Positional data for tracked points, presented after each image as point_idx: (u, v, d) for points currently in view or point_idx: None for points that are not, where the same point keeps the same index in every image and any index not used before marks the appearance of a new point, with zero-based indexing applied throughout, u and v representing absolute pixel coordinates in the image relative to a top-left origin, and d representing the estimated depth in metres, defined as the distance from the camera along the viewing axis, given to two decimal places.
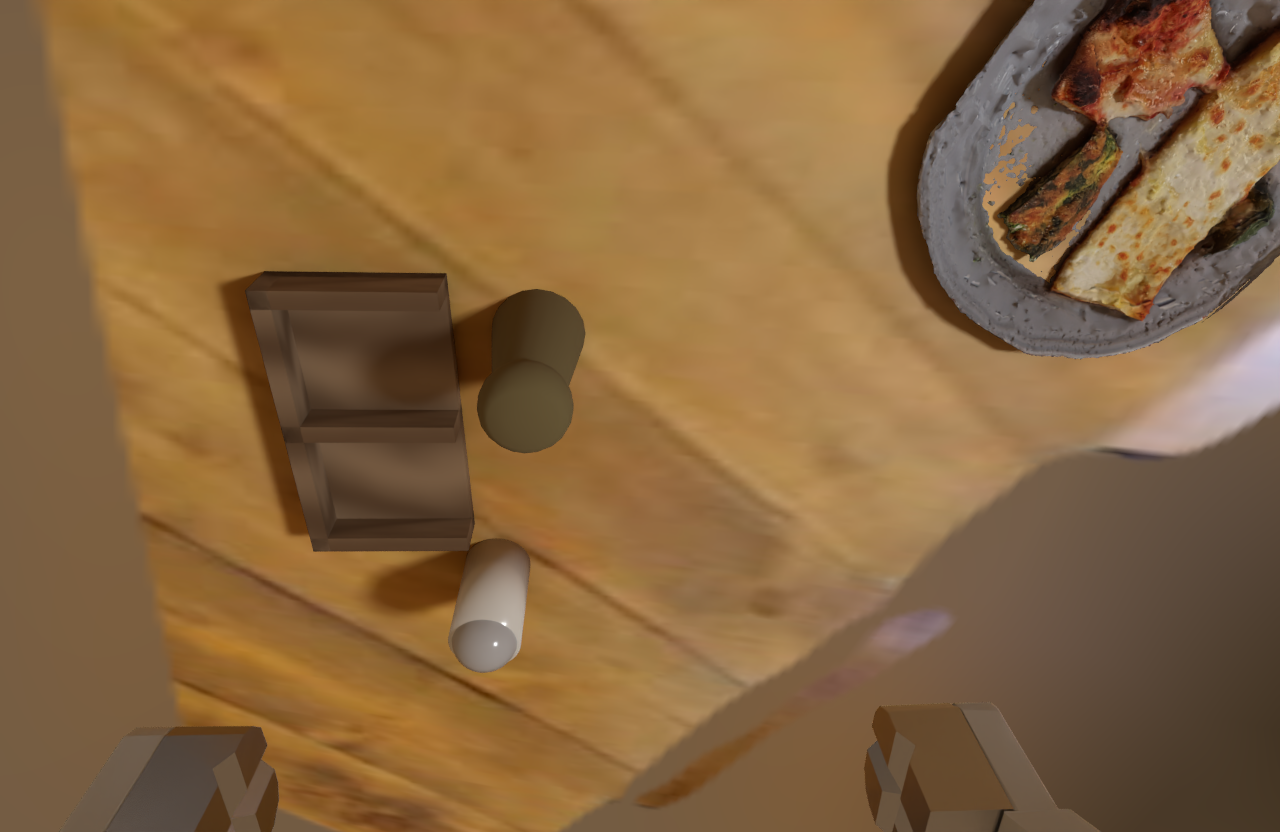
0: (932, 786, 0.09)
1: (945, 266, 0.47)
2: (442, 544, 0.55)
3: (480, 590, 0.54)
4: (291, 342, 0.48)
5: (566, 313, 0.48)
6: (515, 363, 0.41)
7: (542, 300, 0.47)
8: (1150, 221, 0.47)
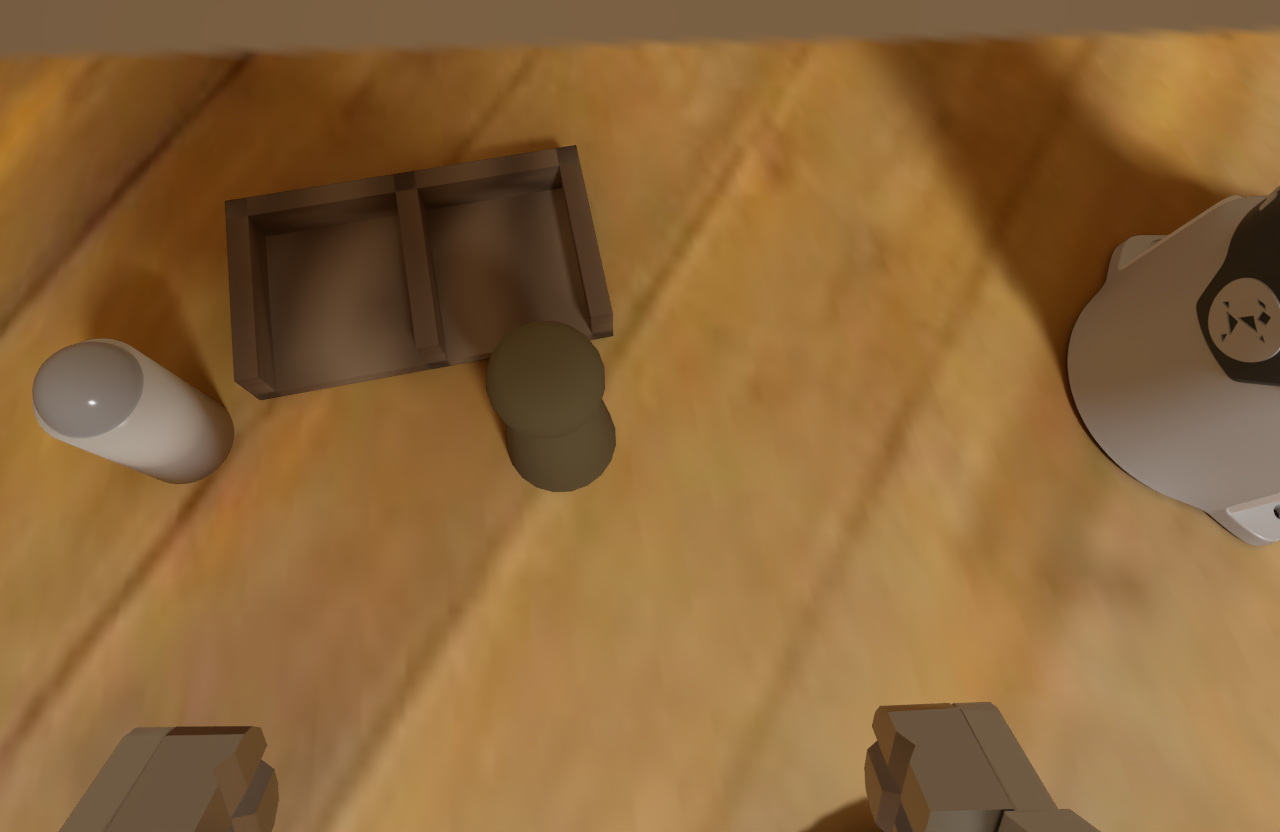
0: (932, 786, 0.09)
1: None
2: (244, 347, 0.40)
3: (178, 389, 0.37)
4: (512, 190, 0.46)
5: (603, 457, 0.41)
6: None
7: (612, 430, 0.41)
8: None
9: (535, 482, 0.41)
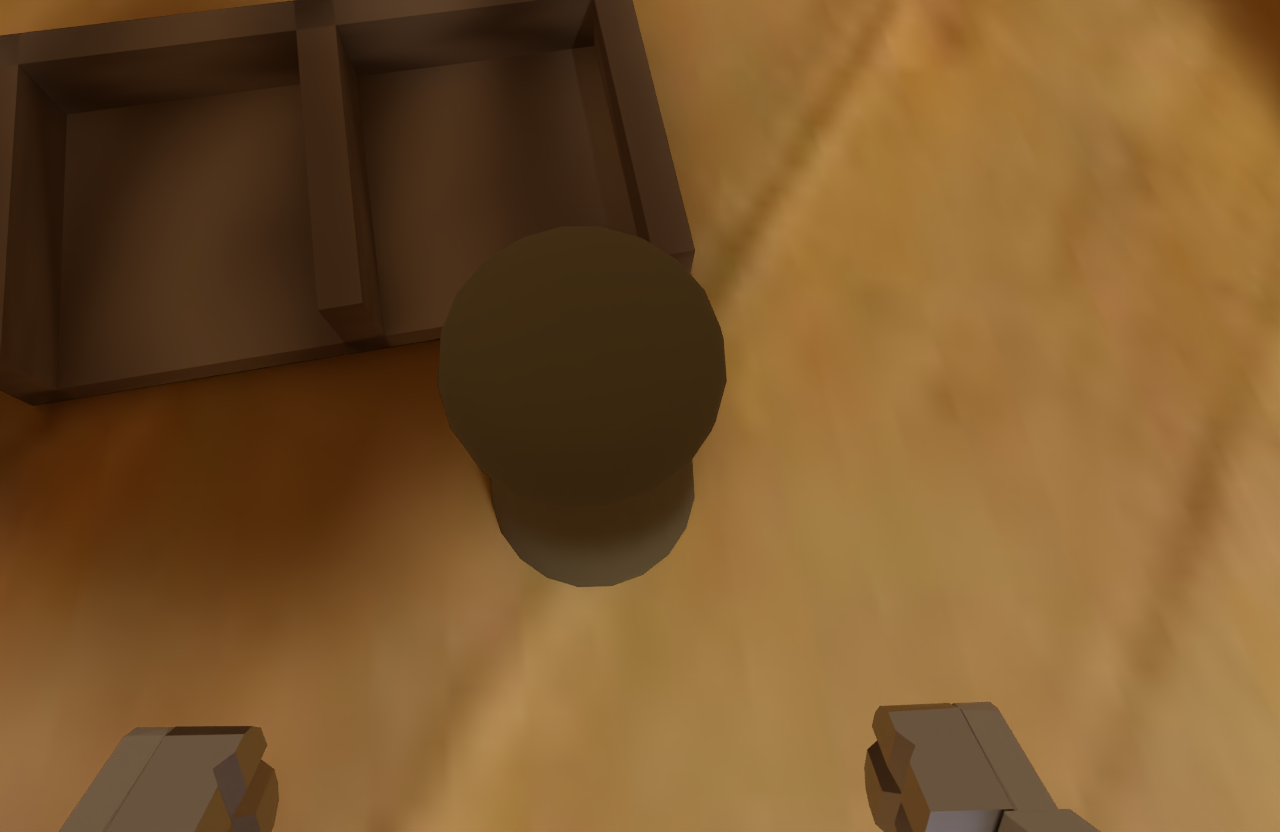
0: (932, 786, 0.09)
1: None
2: None
3: None
4: (508, 44, 0.26)
5: (678, 525, 0.21)
6: None
7: (692, 471, 0.22)
8: None
9: (545, 570, 0.21)
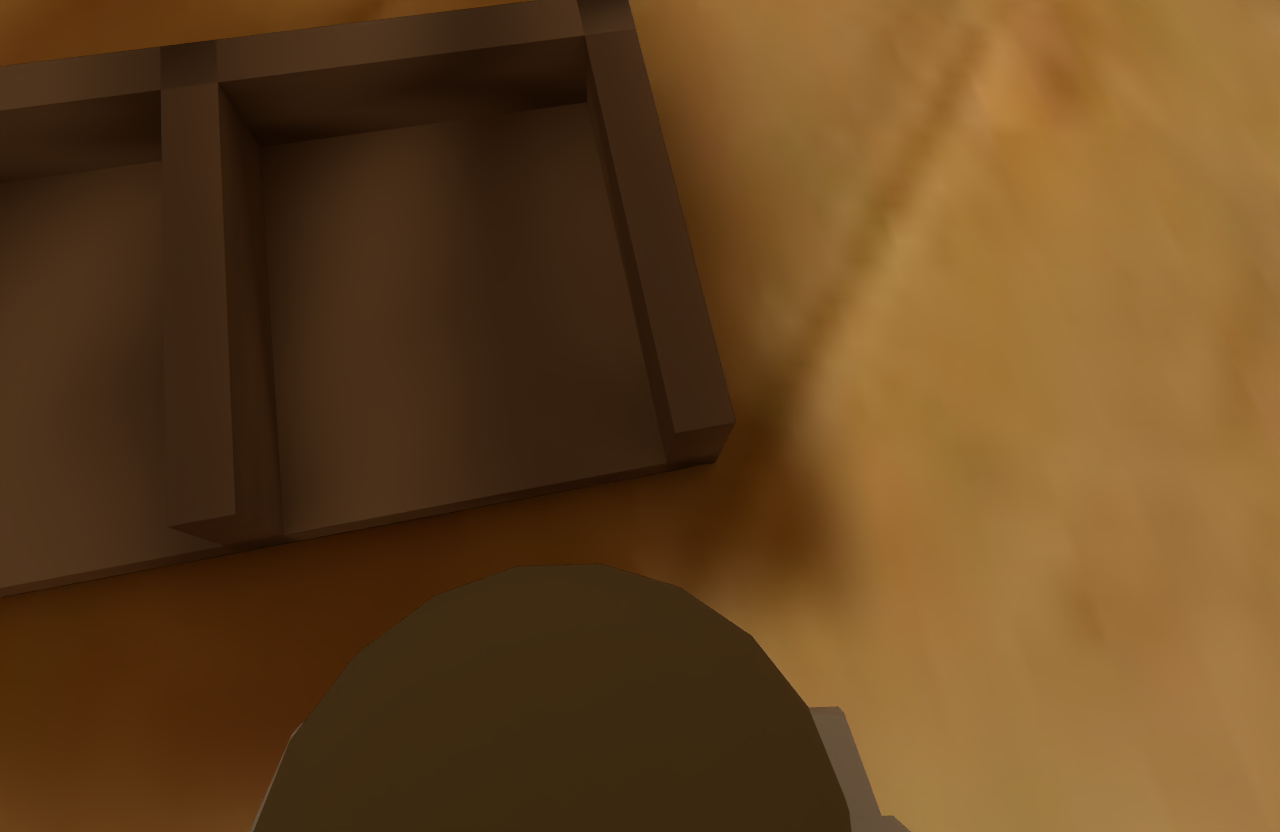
0: None
1: None
2: None
3: None
4: (468, 102, 0.19)
5: None
6: None
7: None
8: None
9: None
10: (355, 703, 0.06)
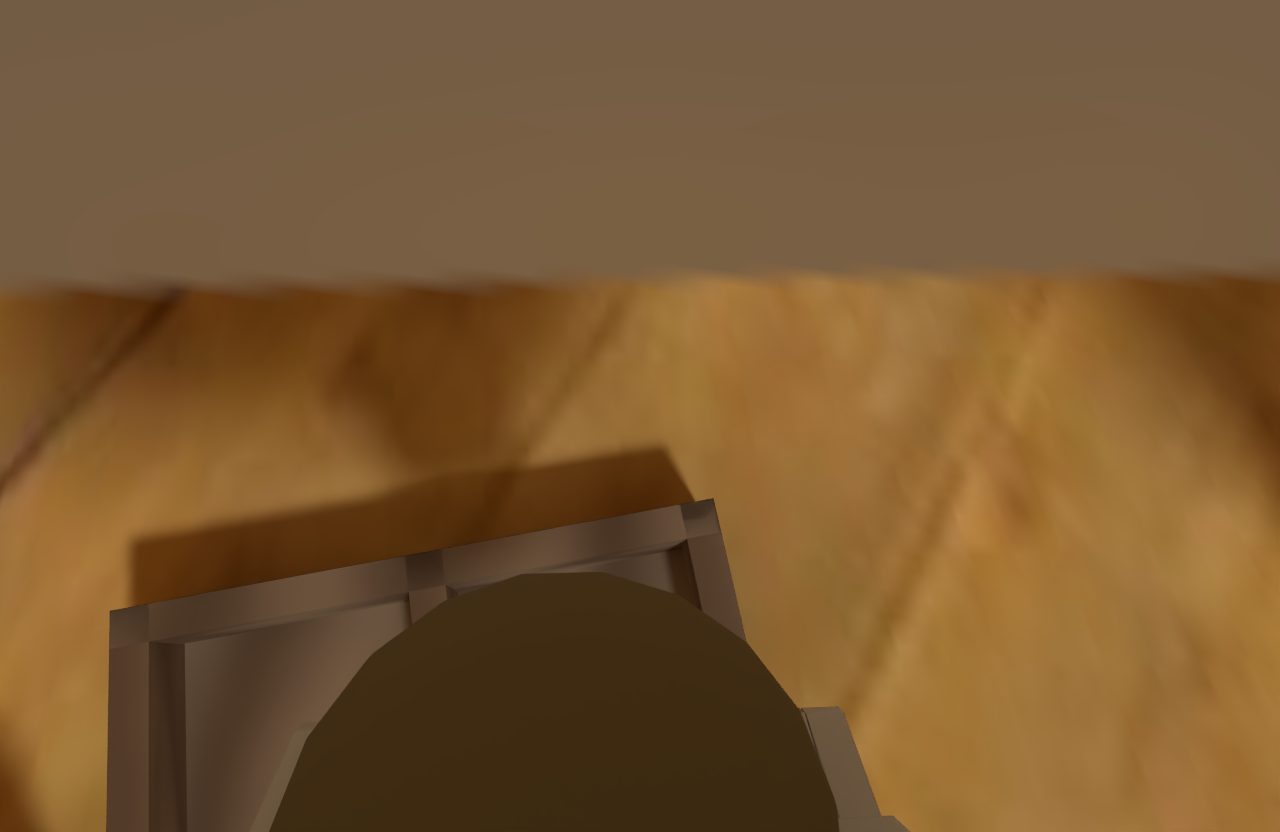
0: None
1: None
2: None
3: None
4: (601, 561, 0.27)
5: None
6: None
7: None
8: None
9: None
10: (369, 704, 0.06)
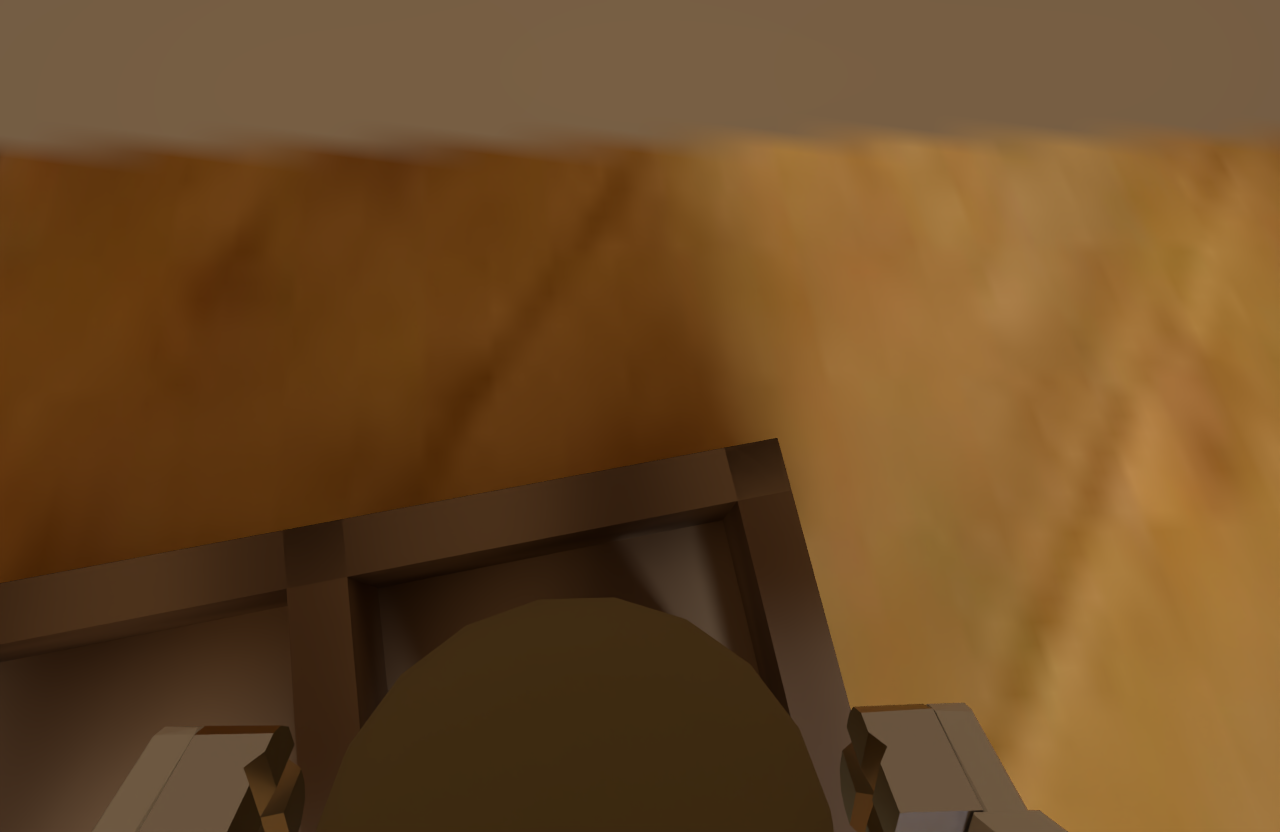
0: (902, 787, 0.09)
1: None
2: None
3: None
4: (601, 539, 0.18)
5: None
6: None
7: None
8: None
9: None
10: (403, 729, 0.07)
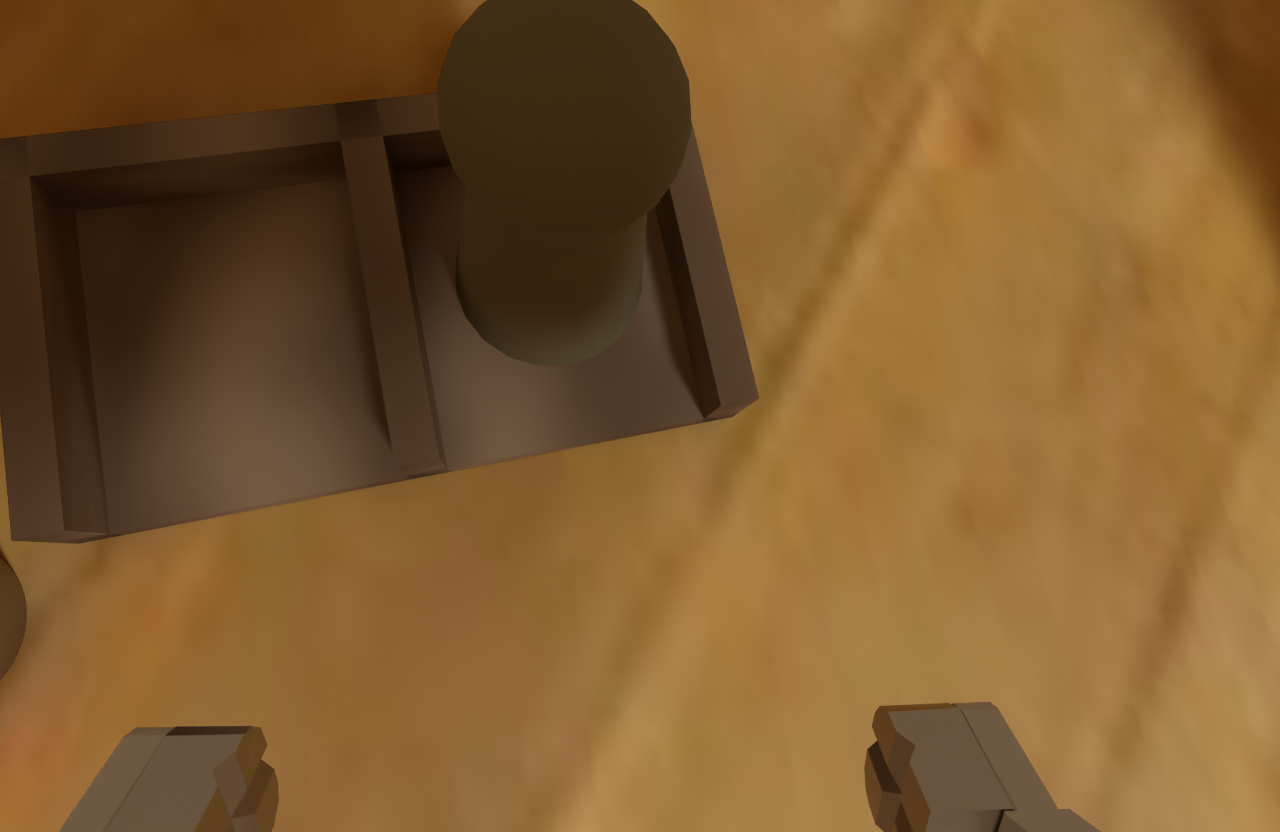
0: (932, 786, 0.09)
1: None
2: (32, 465, 0.20)
3: None
4: None
5: (629, 308, 0.24)
6: None
7: None
8: None
9: (508, 347, 0.24)
10: (488, 4, 0.15)
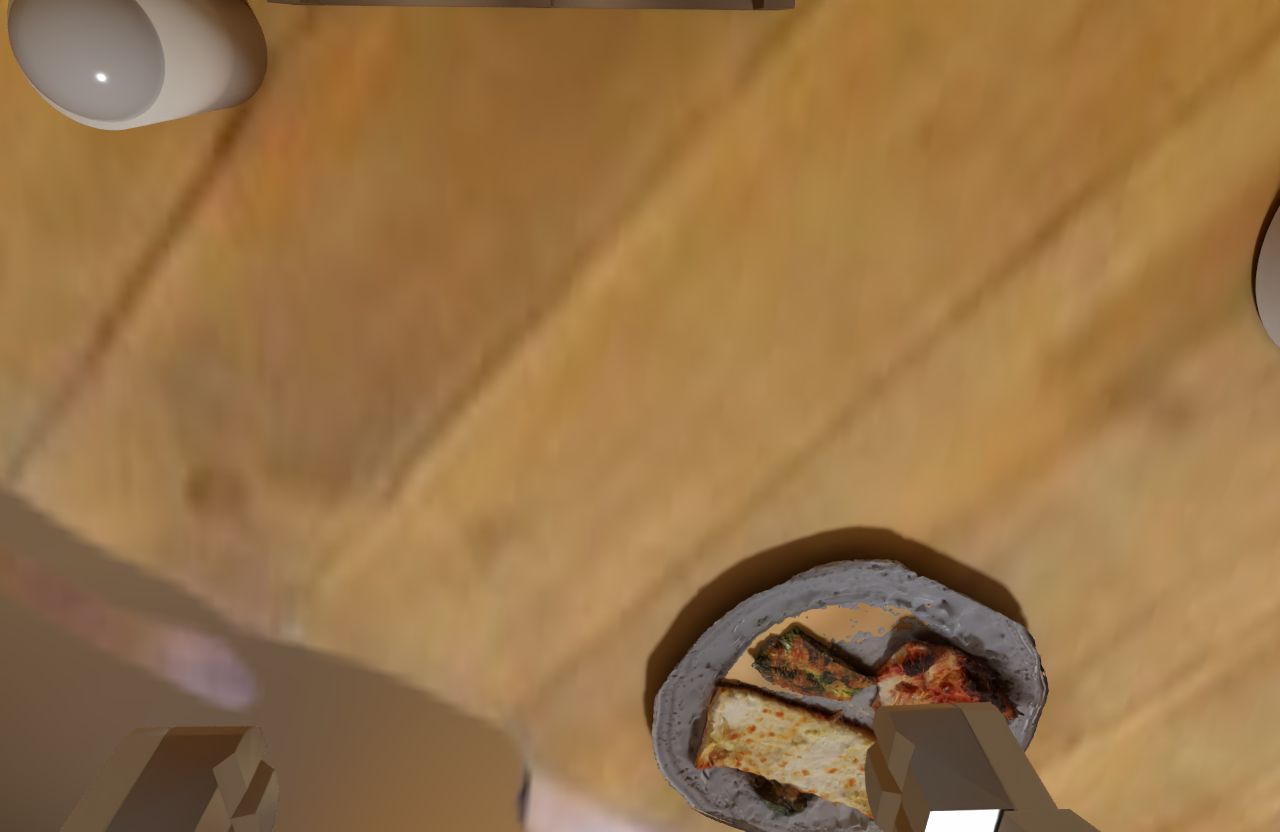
0: (932, 786, 0.09)
1: (759, 601, 0.45)
2: None
3: (201, 34, 0.27)
4: None
5: None
6: None
7: None
8: (784, 738, 0.51)
9: None
10: None
